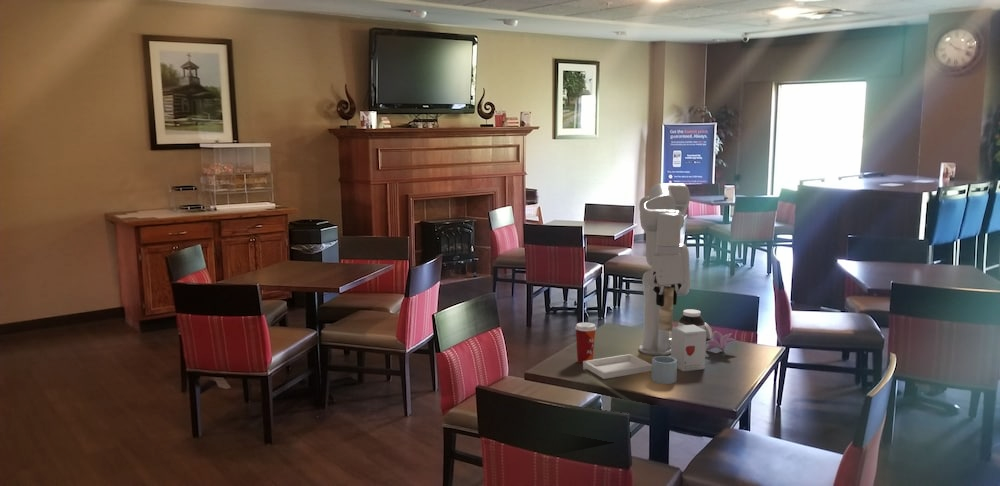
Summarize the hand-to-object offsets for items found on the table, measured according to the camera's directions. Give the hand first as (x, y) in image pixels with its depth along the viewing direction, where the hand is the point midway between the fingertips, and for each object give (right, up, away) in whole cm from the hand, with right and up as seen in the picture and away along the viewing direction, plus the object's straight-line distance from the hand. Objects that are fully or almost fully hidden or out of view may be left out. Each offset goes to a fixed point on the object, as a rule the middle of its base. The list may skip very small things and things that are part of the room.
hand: (666, 304), depth 241 cm
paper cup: (-24, -24, +26) cm, 43 cm away
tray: (-14, -25, +16) cm, 32 cm away
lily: (+28, -22, +34) cm, 50 cm away
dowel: (0, -8, +1) cm, 8 cm away
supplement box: (+12, -25, +18) cm, 33 cm away
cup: (0, -27, +4) cm, 27 cm away
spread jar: (+24, -19, +54) cm, 62 cm away
